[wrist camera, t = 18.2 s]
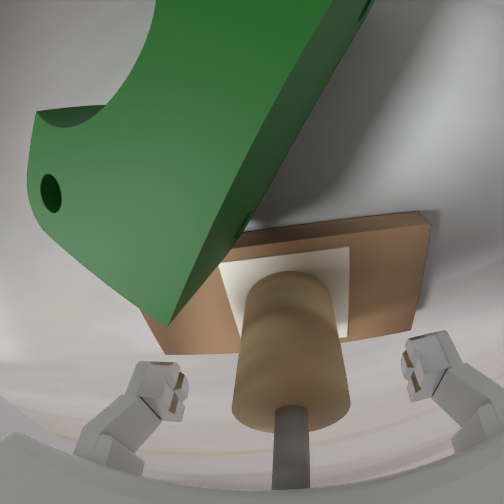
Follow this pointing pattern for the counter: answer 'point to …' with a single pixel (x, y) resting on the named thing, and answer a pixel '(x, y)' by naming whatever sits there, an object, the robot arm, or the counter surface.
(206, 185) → the clamp
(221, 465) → the counter surface
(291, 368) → the awl
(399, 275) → the bandage strip
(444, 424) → the counter surface
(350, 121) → the counter surface
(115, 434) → the robot arm
